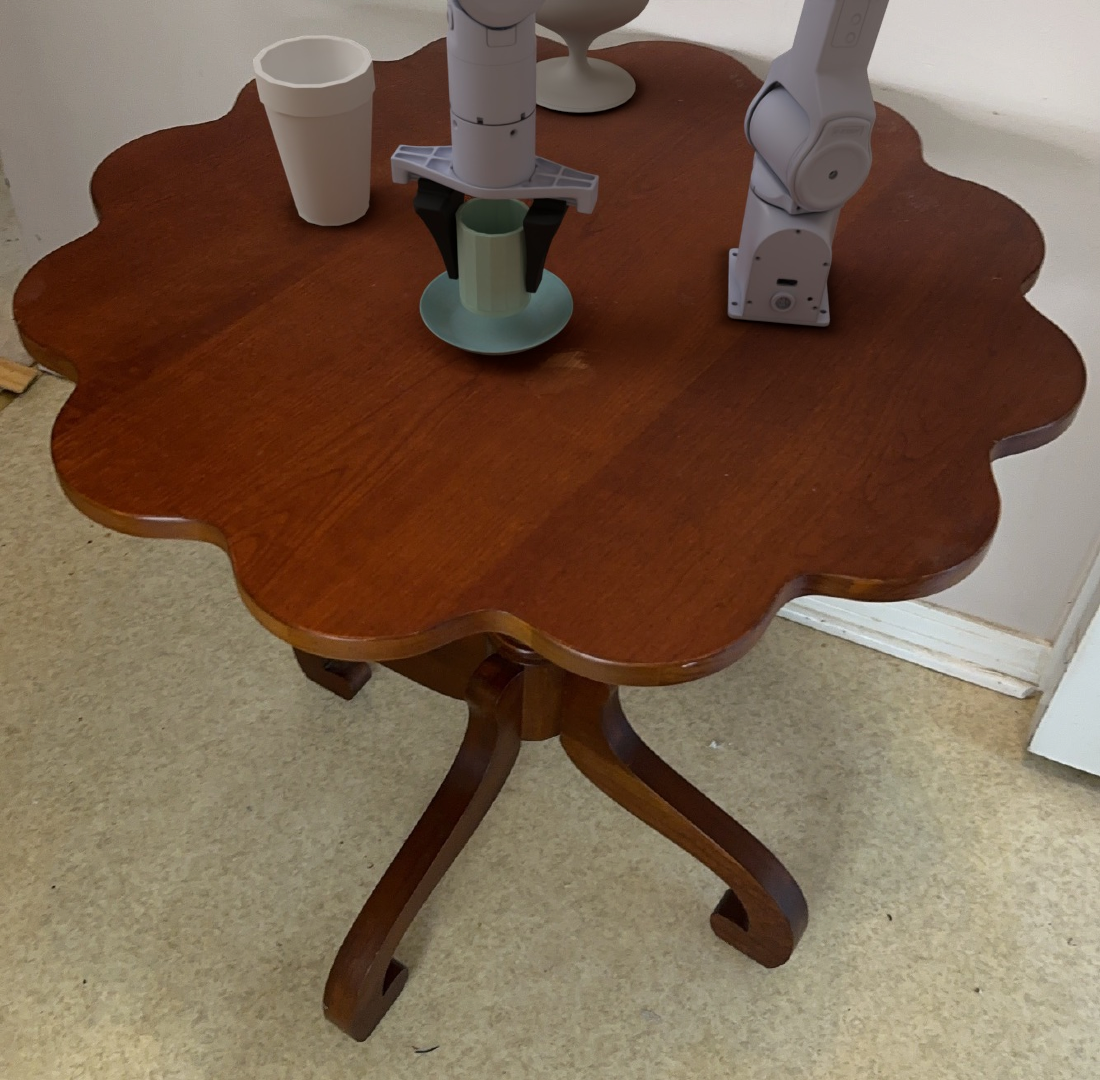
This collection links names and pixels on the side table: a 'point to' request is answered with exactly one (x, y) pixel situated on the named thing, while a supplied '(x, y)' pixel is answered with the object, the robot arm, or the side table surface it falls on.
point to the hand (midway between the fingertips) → (495, 278)
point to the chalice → (584, 55)
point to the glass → (492, 257)
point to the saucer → (496, 334)
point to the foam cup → (321, 122)
